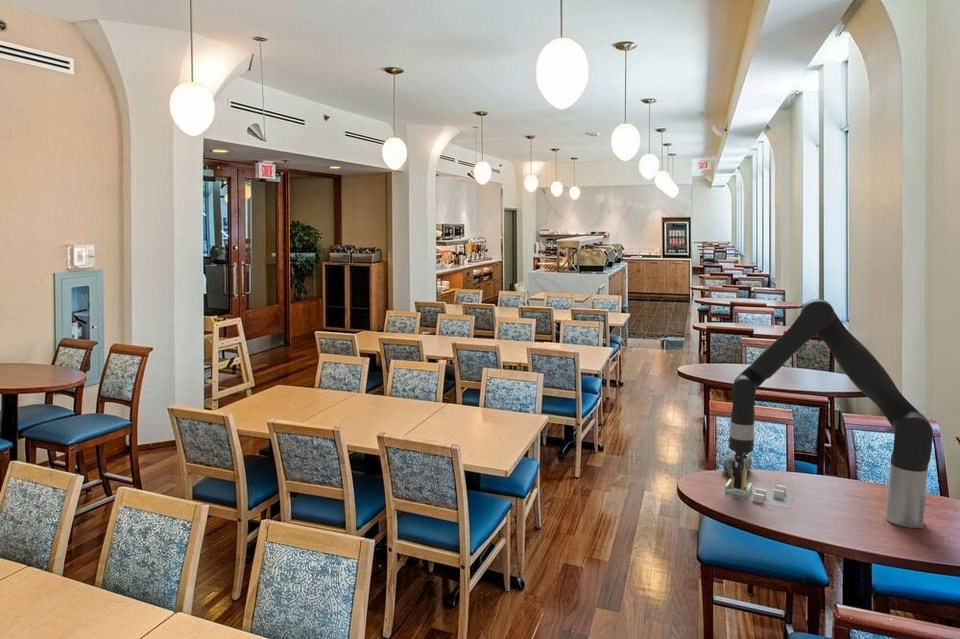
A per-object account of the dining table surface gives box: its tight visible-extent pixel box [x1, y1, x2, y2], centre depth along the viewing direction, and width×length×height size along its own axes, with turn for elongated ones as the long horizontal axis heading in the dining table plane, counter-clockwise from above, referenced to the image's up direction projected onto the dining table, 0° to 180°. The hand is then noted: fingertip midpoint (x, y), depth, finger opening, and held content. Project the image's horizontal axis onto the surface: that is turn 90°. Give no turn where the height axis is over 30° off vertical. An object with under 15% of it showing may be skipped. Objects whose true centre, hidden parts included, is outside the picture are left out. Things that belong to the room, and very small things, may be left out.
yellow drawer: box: [730, 467, 748, 491], centre depth 211 cm, size 4×4×7 cm
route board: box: [721, 483, 795, 510], centre depth 209 cm, size 20×14×1 cm
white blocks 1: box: [752, 488, 766, 504], centre depth 205 cm, size 3×6×2 cm, turn 148°
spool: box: [722, 450, 753, 477], centre depth 229 cm, size 14×10×10 cm
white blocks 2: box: [773, 484, 787, 499], centre depth 208 cm, size 3×6×2 cm, turn 148°
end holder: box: [724, 478, 753, 497], centre depth 211 cm, size 7×7×2 cm
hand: (738, 485), depth 211 cm, fingers closed on yellow drawer, 4 cm apart
